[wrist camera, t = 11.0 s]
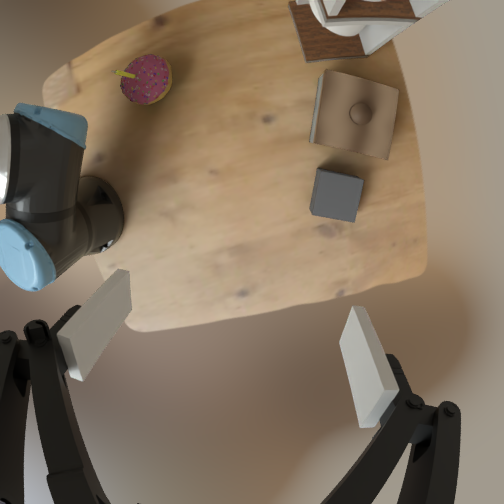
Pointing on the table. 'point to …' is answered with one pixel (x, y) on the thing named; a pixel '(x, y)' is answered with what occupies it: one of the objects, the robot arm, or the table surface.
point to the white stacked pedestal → (353, 25)
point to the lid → (356, 114)
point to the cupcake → (146, 79)
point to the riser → (336, 195)
